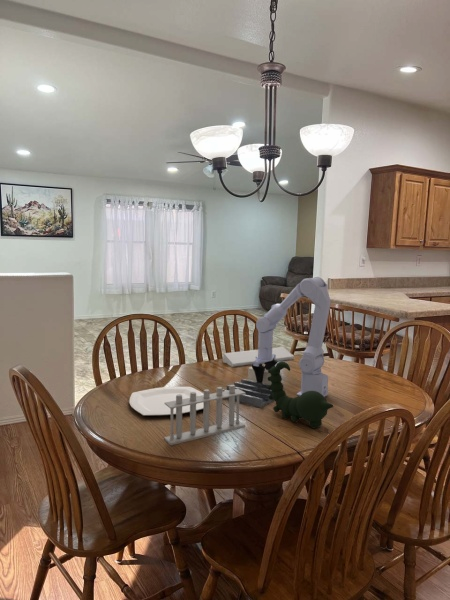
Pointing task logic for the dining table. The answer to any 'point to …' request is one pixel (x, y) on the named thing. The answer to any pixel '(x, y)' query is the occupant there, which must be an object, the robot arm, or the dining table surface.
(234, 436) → the dining table surface
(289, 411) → the toy figurine
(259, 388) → the grey grooved block
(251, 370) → the clay strip
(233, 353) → the decorative molding
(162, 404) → the plate
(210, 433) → the test tube rack
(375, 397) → the dining table surface
